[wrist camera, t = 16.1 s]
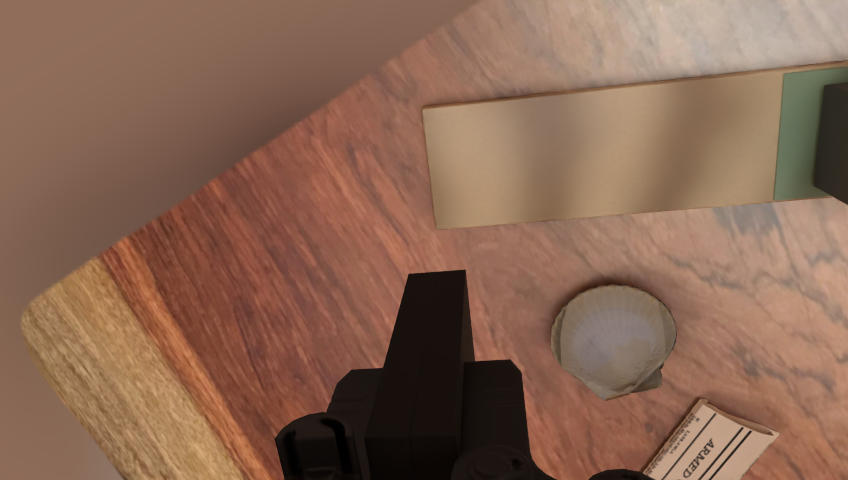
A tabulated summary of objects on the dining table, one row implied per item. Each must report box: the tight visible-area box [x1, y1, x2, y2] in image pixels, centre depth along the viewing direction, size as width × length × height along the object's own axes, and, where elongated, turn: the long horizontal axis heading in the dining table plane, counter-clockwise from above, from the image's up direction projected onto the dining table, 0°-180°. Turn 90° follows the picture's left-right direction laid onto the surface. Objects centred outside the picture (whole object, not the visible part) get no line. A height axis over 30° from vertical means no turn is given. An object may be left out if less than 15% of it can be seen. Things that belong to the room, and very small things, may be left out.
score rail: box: [422, 61, 848, 230], centre depth 36 cm, size 30×8×4 cm, turn 97°
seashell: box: [551, 284, 677, 401], centre depth 42 cm, size 8×3×8 cm
